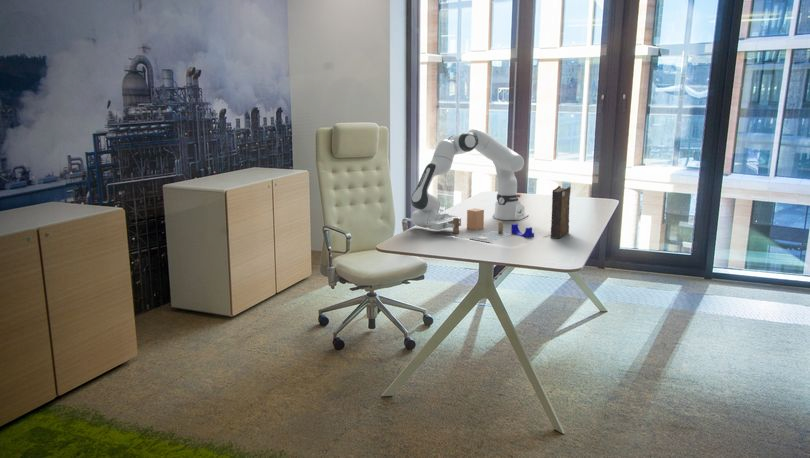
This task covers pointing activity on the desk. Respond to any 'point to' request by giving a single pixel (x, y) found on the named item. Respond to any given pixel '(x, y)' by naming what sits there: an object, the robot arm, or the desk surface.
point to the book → (560, 212)
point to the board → (491, 234)
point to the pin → (456, 226)
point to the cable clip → (516, 231)
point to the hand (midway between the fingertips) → (457, 225)
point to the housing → (475, 219)
